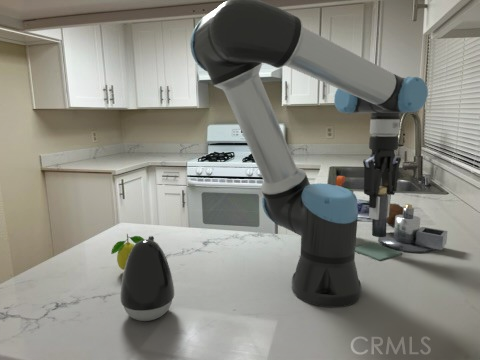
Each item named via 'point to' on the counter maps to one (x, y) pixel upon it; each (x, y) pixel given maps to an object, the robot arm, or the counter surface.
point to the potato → (394, 213)
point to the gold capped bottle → (381, 215)
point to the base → (402, 244)
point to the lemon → (124, 250)
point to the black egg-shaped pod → (146, 282)
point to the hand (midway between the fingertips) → (378, 217)
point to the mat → (377, 251)
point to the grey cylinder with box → (417, 231)
